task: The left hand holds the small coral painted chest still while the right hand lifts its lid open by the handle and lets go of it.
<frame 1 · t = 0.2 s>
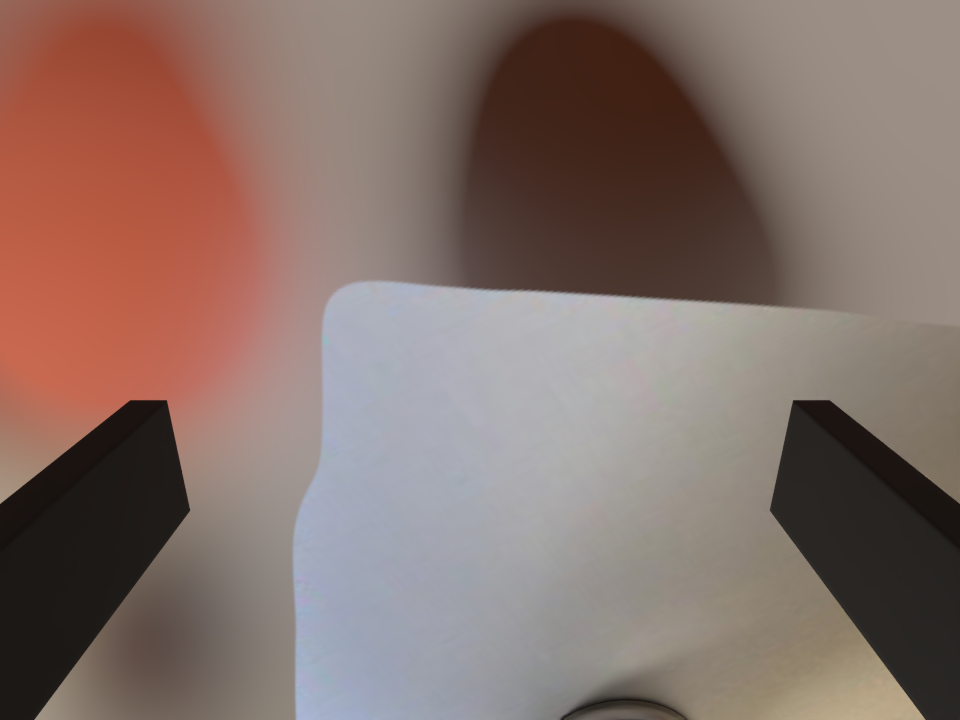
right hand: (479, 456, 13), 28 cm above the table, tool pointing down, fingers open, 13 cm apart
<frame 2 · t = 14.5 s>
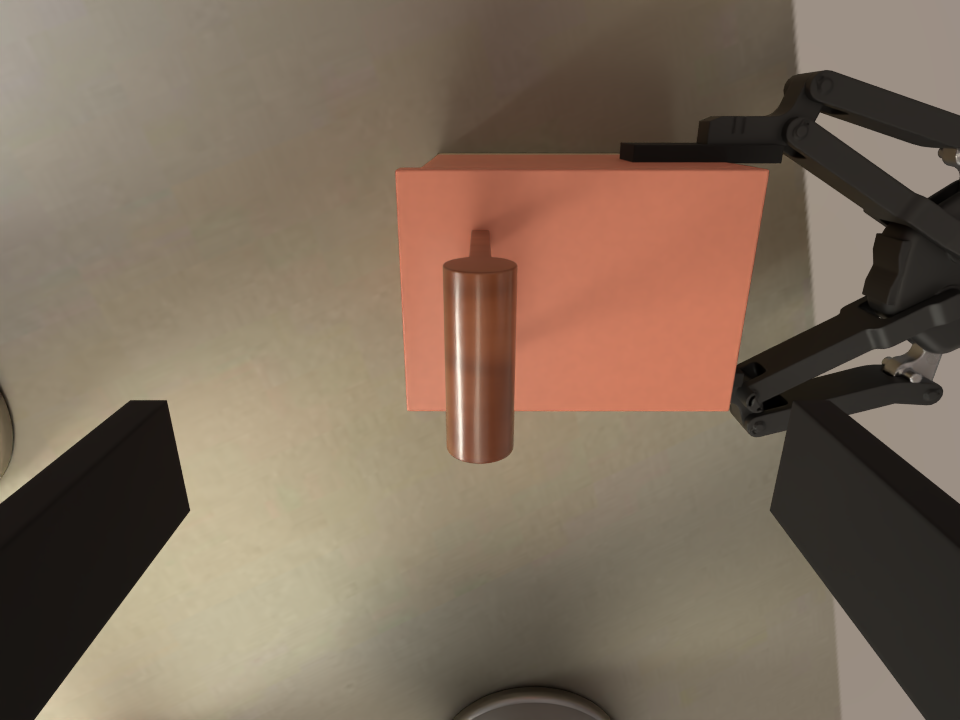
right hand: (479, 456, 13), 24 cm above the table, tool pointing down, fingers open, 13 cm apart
left hand: (616, 268, 29), fingers closed on chest, 10 cm apart
lid: (588, 326, 21), point 15 cm above the table, hinge at 0.0°
chest: (552, 243, 35), on the table, touching left hand
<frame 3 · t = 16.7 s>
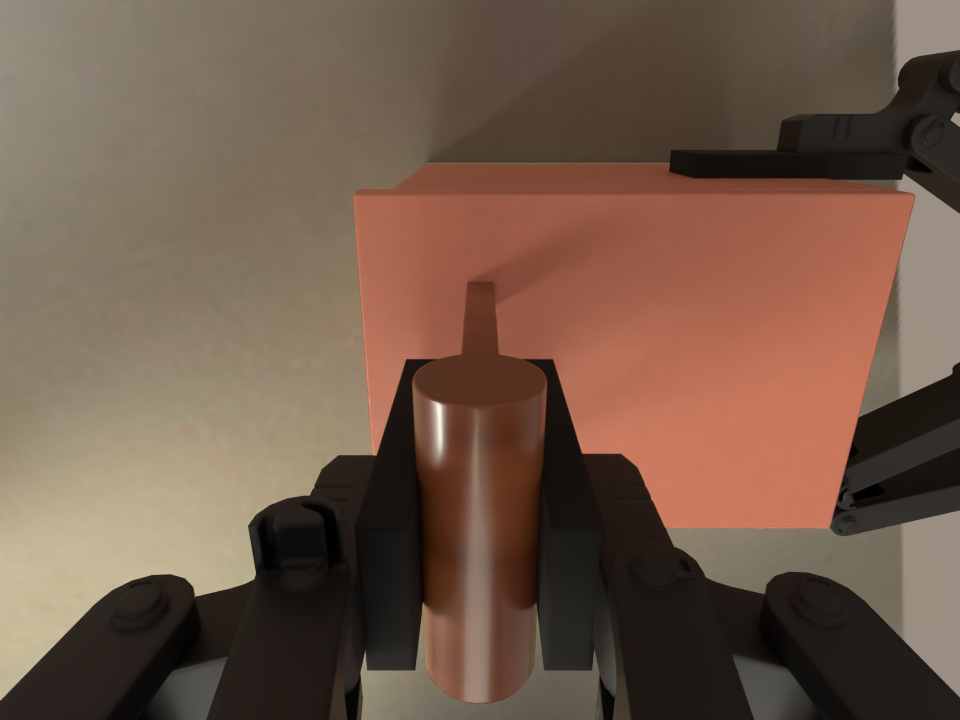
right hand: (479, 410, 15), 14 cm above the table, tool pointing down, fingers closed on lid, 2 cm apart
lid: (648, 438, 14), point 15 cm above the table, hinge at -0.1°, touching right hand
chest: (572, 276, 28), on the table, touching left hand
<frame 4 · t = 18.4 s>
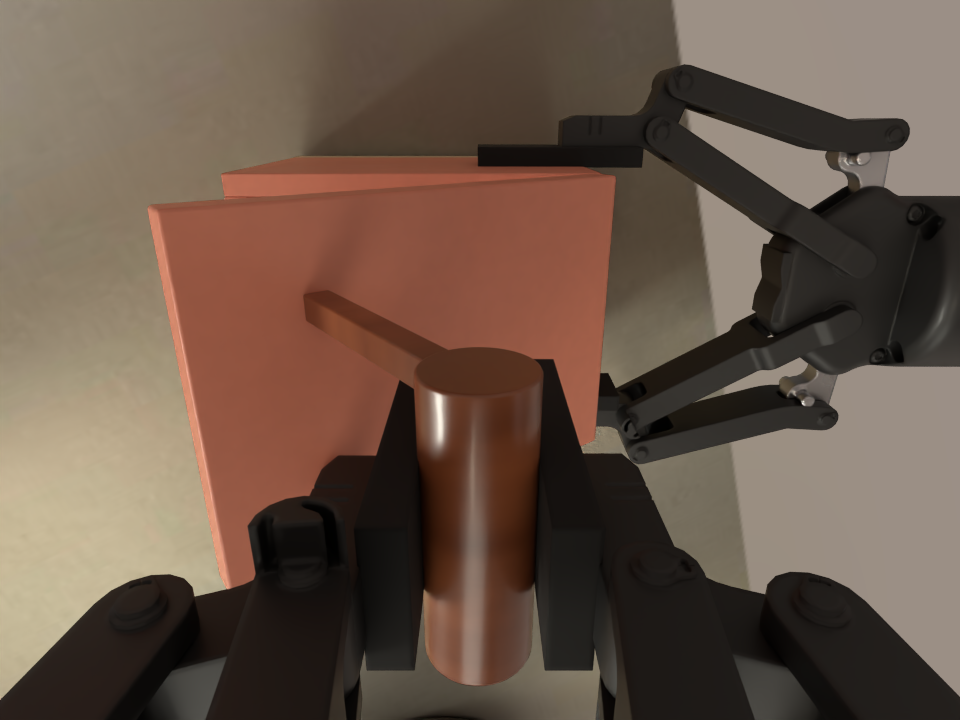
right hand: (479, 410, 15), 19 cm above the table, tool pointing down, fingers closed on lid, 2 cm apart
left hand: (477, 282, 27), fingers closed on chest, 10 cm apart
lid: (519, 400, 16), point 19 cm above the table, hinge at 35.6°, touching right hand
chest: (431, 253, 33), on the table, touching left hand
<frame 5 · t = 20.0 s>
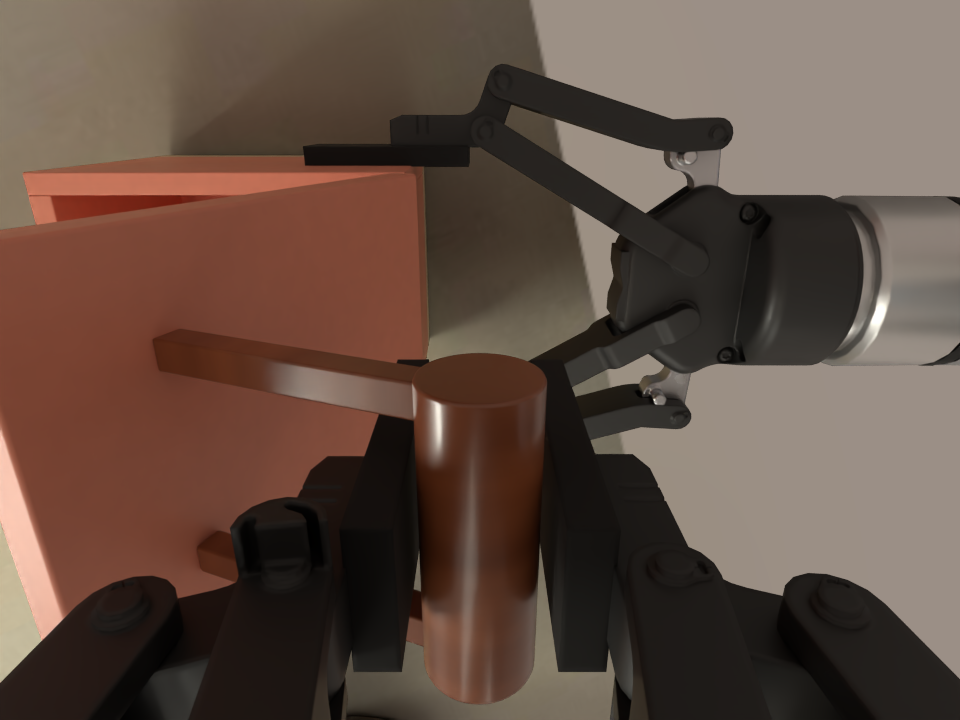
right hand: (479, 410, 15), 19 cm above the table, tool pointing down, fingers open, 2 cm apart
left hand: (324, 281, 27), fingers closed on chest, 10 cm apart
lid: (413, 409, 15), point 19 cm above the table, hinge at 66.4°
chest: (305, 252, 33), on the table, touching left hand
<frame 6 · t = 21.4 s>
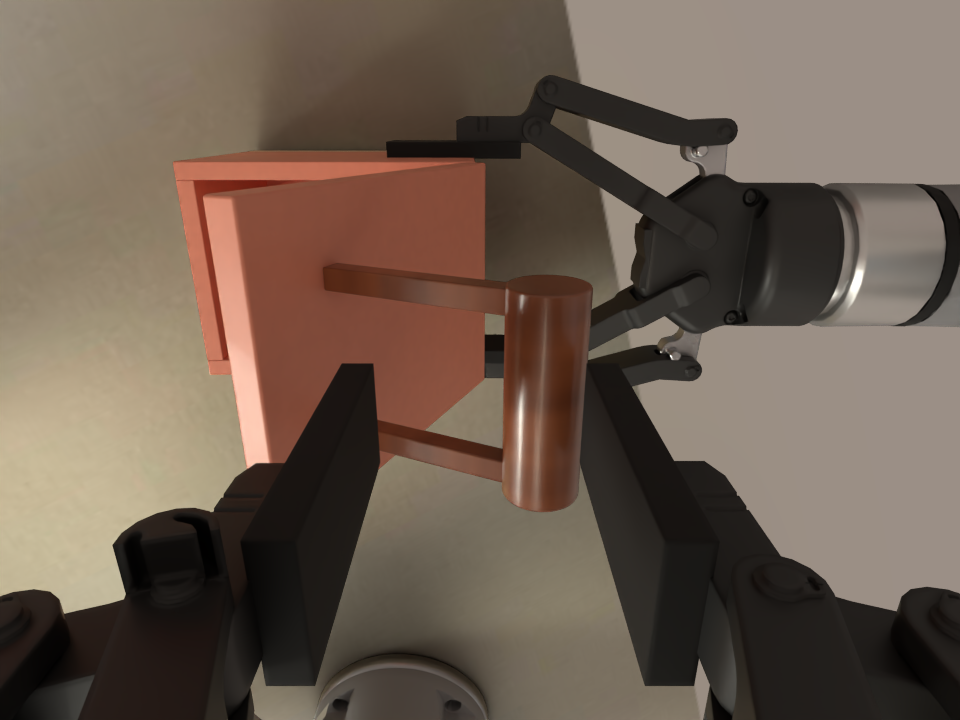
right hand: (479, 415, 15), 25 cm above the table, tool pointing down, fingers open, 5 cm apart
left hand: (395, 254, 32), fingers closed on chest, 10 cm apart
lid: (488, 333, 20), point 19 cm above the table, hinge at 63.6°
chest: (369, 234, 38), on the table, touching left hand
when the left hand's fingers open (6 cm above the table, at t = 24.0 s): chest stays where it is, on the table.
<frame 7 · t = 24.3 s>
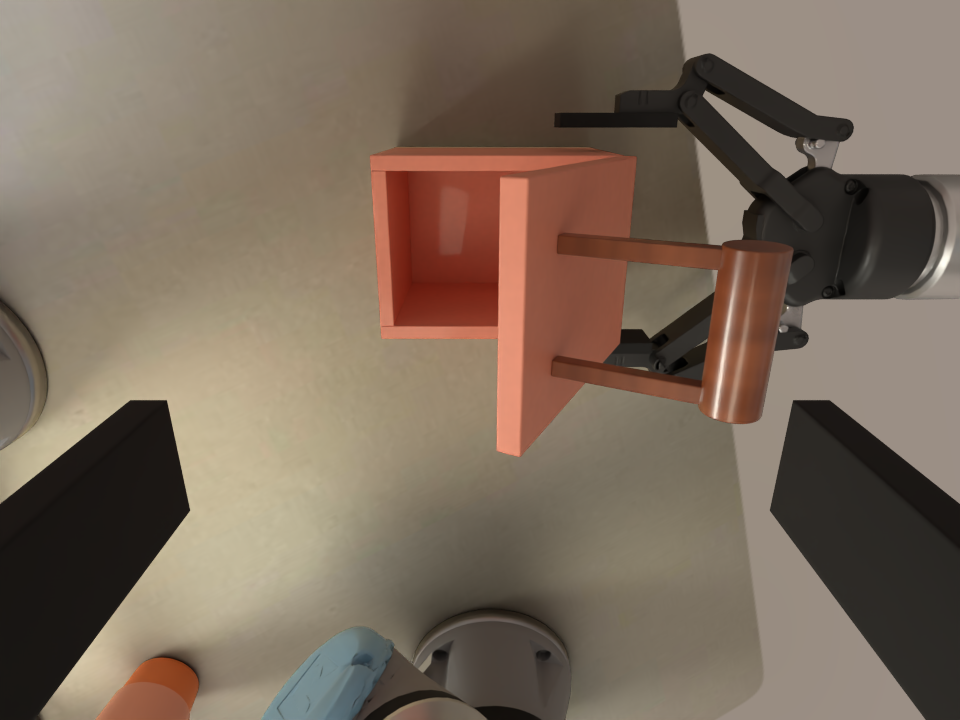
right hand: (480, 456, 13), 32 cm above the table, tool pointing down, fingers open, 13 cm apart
left hand: (551, 238, 37), fingers open, 13 cm apart
cup with straw: (169, 677, 59), on the table
lid: (665, 294, 25), point 19 cm above the table, hinge at 62.7°
chest: (492, 221, 43), on the table
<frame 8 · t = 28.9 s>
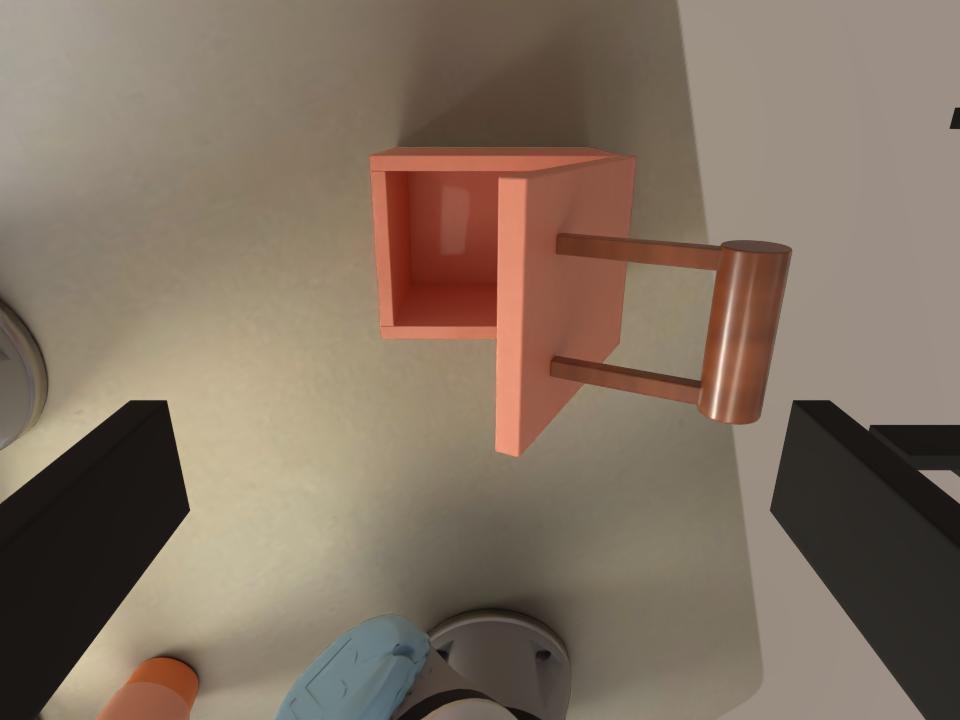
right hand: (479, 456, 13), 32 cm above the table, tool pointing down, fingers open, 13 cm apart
cup with straw: (169, 677, 59), on the table
lid: (664, 294, 25), point 19 cm above the table, hinge at 62.7°
chest: (492, 221, 43), on the table
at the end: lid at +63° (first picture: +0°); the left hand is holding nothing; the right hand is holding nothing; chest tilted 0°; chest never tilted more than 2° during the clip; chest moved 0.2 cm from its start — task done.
